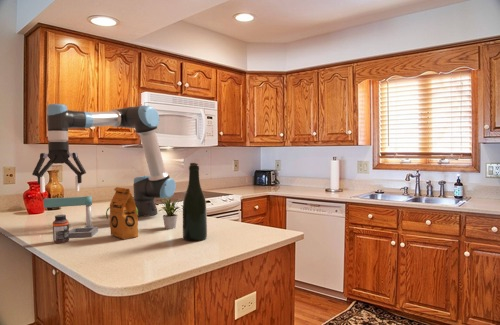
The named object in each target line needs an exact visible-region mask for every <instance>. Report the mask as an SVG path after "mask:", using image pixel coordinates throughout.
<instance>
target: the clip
mask: <svg viewBox="0 0 500 325" xmlns="http://www.w3.org/2000/svg"><path fill="white" fill-rule="evenodd" d="M86 205H91V206H93V197H92V195H91V196H90V195H89V196H88V195H87V196H72V197H70V196H69V197H52V198H51V197H50V198H43V208H46V209H47V208H61V207H63V208H64V207H78V206H79V207H80V206H86Z"/></svg>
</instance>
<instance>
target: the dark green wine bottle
mask: <svg viewBox="0 0 500 325" xmlns="http://www.w3.org/2000/svg"><path fill="white" fill-rule="evenodd" d="M188 173H189V174H188V185H187V188H186V192H185V194H184V197H183V199H182V200H183V202H182V239H183V240H184V241H188V242H198V241H199V240H200V241H203V239H204V240H206V239H207V238H208V220H207V219H208V217H207V215H208V214H207V201H206V197H205V194H204V191H203V190H202V186H201V181H200V180H201V179H200V166H199V163H198V162H190V163H189V166H188ZM200 241H199V242H200Z"/></svg>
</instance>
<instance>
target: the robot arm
mask: <svg viewBox="0 0 500 325" xmlns="http://www.w3.org/2000/svg"><path fill="white" fill-rule="evenodd" d="M159 123H160V115H159V112H158V110H157V109H156V108H154V107H153V106H152V105H146V104H145V105H138V106H128V107H124V108H123V107H122V108H116V109H115V108H114V109H111V110H109V111H83V110H82V111H81V110H69V109H68V106H67V105H66V104H64V103H51V104H48V105H47V107H46V124H47V141H48V143H47V149H48V152H47V153H45V152H41V153H39V159H38V161H37V163H36V164H35V167H34V169H33V171H32V174H31V175H32V176H35V177H37V185H39V186H40V188H39V189H40V194H42V193H45V192H46V184H45V183H46V180H45V176H44V175H45V174H46V172H47V171H48V170H49V169H50V168H51V166H52V165H54V164H65V165H67V166H68V167H69V169H71V170H72V172H74V173H75V175H74V180H75V182H74V183H75V192H80V184H82V182H83V181H82V180H83V179H82V176H83V175H86V174H87V171H86V169H85V168H84V166H83V164H82V162H81V161H80V159H79V156H78V153H77V152H71V153H70V151H69V150H70V149H69V130H70V129H71V130H72V129H90V128H93V127H94V128H95V127H96V128H97V127H110V126H111V127H113V128H125V129H127V128H128V129H134V131H135V133H136V134H137V135H139V138H140V142H141V146H142V148H143V153H144V156H145V159H146V165H147V168H148V171H149V175H142V176H136V177H134V178H133V199H134V201H135V205H136V208H137V210H138V215H137V217H151V216H155V215H156V216H157V215H158V208H157V205H156V202H155V199H161V198H162V199H167V198H168V199H171V198H172V197H173V195H174V194H175V192H176V188H177V185H176V184H177V183H176V181H175V180H174V178H171V177H170V173H169V172H167V171H166V168H165V164H164V160H163V157H162V153H161V149H160V145H159V142H158V137H157V133H156V131H157V130H158V125H159ZM70 157H71V158H72V159H73V161H74V163H75V164H76V166H77V167H76V166H75V165H74V164H73V163H72V162H71V160H70V159H69V158H70ZM47 158H48V159H49V160H48V161H47V162H46V164H45V165H44V163H45V160H46V159H47ZM43 165H44V166H43ZM42 166H43V167H42ZM41 168H42V169H41ZM159 197H160V198H159ZM166 197H167V198H166Z"/></svg>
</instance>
